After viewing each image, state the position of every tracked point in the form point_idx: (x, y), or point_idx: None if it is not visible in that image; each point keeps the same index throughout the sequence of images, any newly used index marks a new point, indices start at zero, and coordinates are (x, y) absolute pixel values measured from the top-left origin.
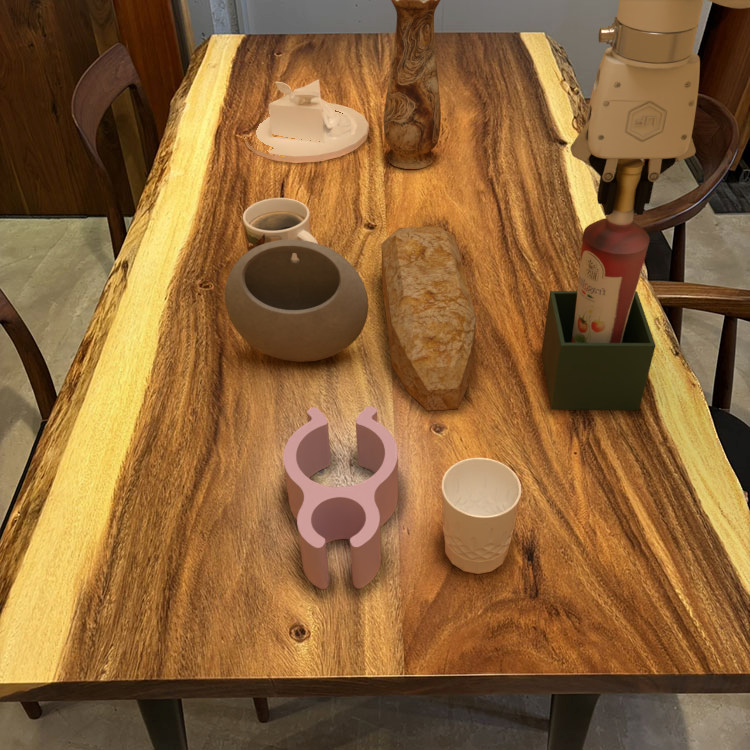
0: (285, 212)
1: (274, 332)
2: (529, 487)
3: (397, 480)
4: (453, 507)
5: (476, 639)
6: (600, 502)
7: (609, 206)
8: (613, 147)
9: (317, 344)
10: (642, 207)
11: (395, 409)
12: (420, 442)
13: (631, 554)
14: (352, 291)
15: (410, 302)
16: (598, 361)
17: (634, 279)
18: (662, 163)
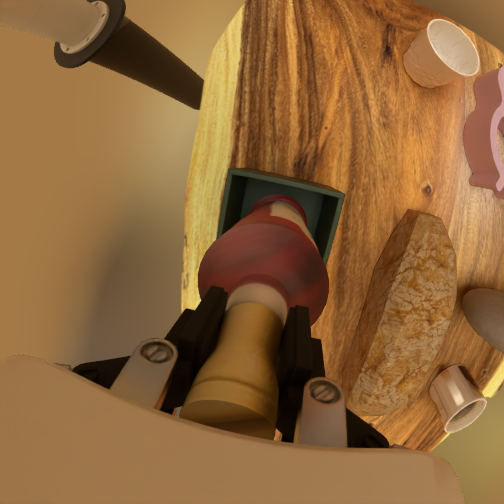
0: (448, 423)
1: None
2: (375, 103)
3: (476, 125)
4: (471, 41)
5: (424, 18)
6: (322, 73)
7: (303, 317)
8: (385, 501)
9: (491, 289)
10: (211, 294)
11: (449, 223)
12: (442, 179)
13: (313, 30)
14: (498, 316)
15: (448, 311)
16: (294, 180)
17: (242, 219)
18: (114, 381)
